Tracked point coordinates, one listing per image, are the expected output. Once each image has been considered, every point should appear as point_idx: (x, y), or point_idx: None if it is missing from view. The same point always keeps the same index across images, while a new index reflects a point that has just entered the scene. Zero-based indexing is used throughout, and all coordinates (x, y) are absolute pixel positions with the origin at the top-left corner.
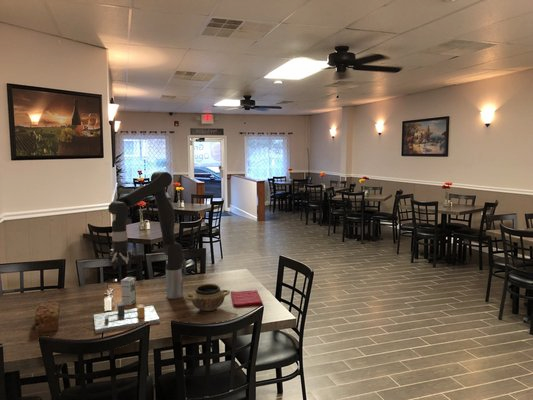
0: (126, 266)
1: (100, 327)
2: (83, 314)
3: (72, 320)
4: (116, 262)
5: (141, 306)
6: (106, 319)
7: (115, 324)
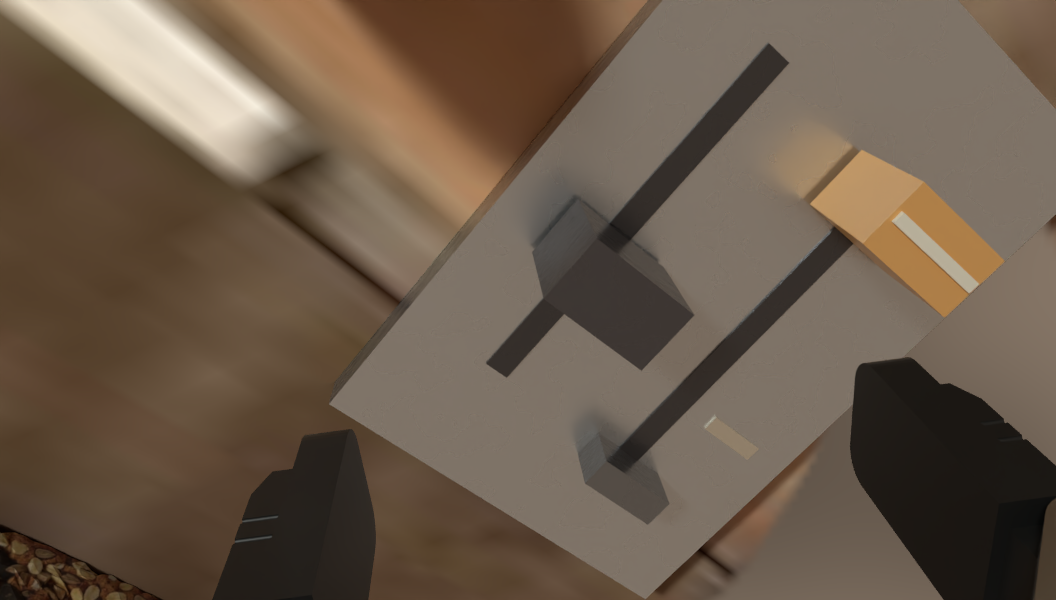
0: (920, 554)
1: (657, 558)
2: (126, 364)
3: (188, 503)
4: (323, 574)
5: (948, 251)
6: (655, 512)
7: (742, 463)
